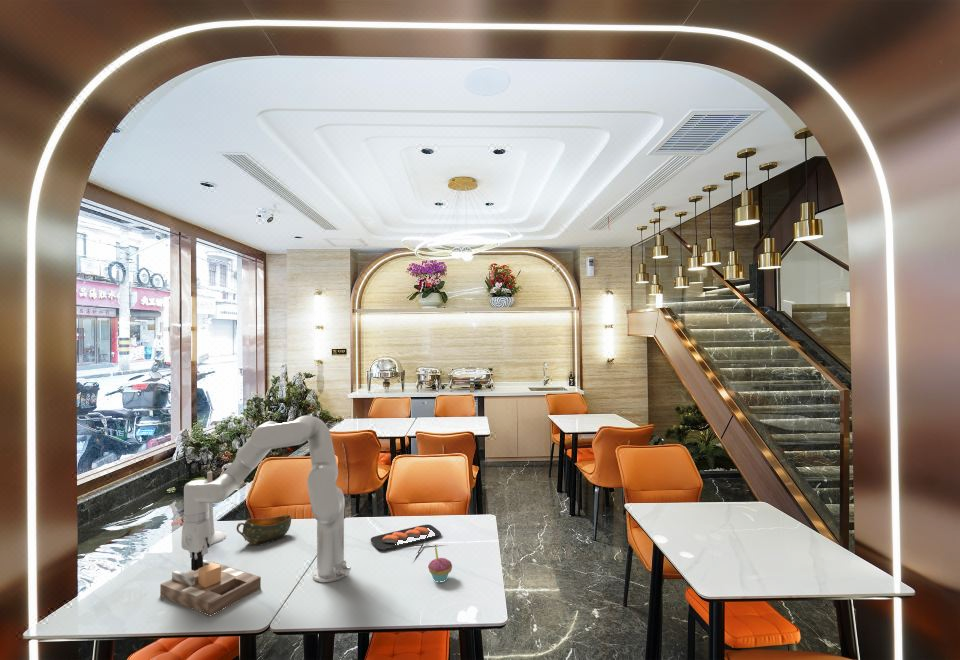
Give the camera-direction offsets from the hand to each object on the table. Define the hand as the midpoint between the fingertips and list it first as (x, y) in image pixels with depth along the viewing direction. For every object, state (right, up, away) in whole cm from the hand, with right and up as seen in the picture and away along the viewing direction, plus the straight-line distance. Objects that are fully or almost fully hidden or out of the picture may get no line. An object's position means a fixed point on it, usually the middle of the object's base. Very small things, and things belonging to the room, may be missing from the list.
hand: (197, 568), depth 162 cm
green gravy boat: (+6, -8, +38) cm, 39 cm away
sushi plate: (+72, -7, +31) cm, 79 cm away
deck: (+7, -6, -4) cm, 10 cm away
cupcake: (+86, -6, +3) cm, 86 cm away
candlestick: (-19, -8, +39) cm, 44 cm away
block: (+7, -2, -5) cm, 9 cm away
